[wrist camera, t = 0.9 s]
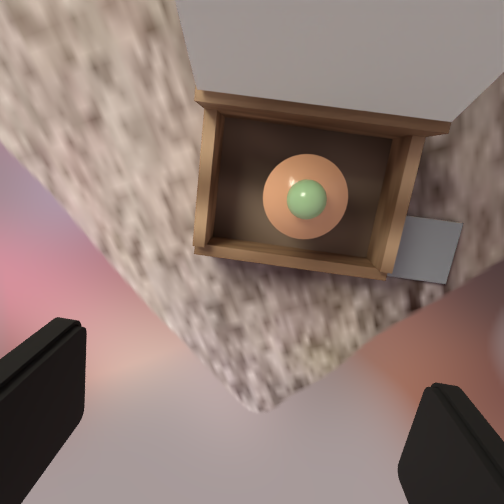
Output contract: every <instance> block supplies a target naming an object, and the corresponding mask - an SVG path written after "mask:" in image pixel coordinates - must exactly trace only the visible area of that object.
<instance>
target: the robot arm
mask: <svg viewBox="0 0 504 504" xmlns="http://www.w3.org/2000/svg"><path fill="white" fill-rule="evenodd" d="M86 335H87V334H86V328H84V327H81V323H80V322H79V321H77V320H72V319H65V318H60V317H57V318H55V319H53V320H52V321H51V322H49V323H48V324H47V325H45V326H44V327H42V328H41V329H40V330H39V331H37V332H36V333H34V334H33V335H32V336H30V337H29V338H28V339H26V340H25V341H24V342H23V343H21V344H20V345H19V346H17V347H16V348H15V349H13V350H12V351H11V352H9V353H8V354H7V355H5V356H4V357H3V358H1V359H0V504H21V503H22V502H23V500H24V499H25V497H26V496H27V495H28V493H29V492H30V490H31V489H32V488H33V486H34V485H35V483H36V482H37V481H38V479H39V478H40V477H41V475H42V474H43V472H44V471H45V470H46V468H47V467H48V465H49V464H50V463H51V461H52V460H53V459H54V457H55V456H56V454H57V453H58V451H59V450H60V449H61V447H62V446H63V445H64V443H65V442H66V440H67V439H68V438H69V436H70V435H71V433H72V432H73V431H74V429H75V428H76V427H77V425H78V424H79V422H80V420H81V418H82V416H83V412H84V401H85V398H84V397H85V367H86V366H85V365H86ZM398 476H399V480H400V483H401V485H402V488H403V491H404V493H405V496H406V498H407V501H408V503H409V504H504V442H503V440H502V439H501V438H500V436H499V435H498V434H497V433H496V432H495V430H494V429H493V428H492V427H491V425H490V424H489V423H488V422H487V420H486V419H485V418H484V417H483V415H482V414H481V413H480V412H479V410H478V409H477V408H476V407H475V405H474V404H473V403H472V402H471V401H470V399H469V398H468V397H467V396H466V394H465V393H464V392H463V391H462V389H460V388H459V387H458V386H453V385H447V384H442V383H434V384H432V385H431V387H427V388H426V389H425V390H424V392H423V395H422V398H421V401H420V404H419V407H418V409H417V412H416V415H415V418H414V421H413V424H412V427H411V429H410V432H409V435H408V438H407V441H406V443H405V446H404V449H403V452H402V455H401V458H400V461H399V464H398Z"/></svg>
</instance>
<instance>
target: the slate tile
mask: <svg viewBox="0 0 504 504" xmlns="http://www.w3.org/2000/svg"><path fill="white" fill-rule="evenodd" d="M462 226H463V223H460V222H453V221H446V220H439V219H431V218H424V217H417V216H409V215H406V219H405V223H404V227H403V231H402V235H401V240H400V244H399V248H398V252H397V256H396V260H395V264H394V268H393V272H392V274H391V273H387V276H391V277H399V278H406V279H413V280H420V281H427V282H434V283H442V284H446V281H447V278H448V274H449V271H450V267H451V264H452V261H453V257H454V254H455V250H456V247H457V243H458V240H459V237H460V233H461V230H462Z"/></svg>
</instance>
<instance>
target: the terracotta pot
mask: <svg viewBox="0 0 504 504" xmlns="http://www.w3.org/2000/svg"><path fill="white" fill-rule="evenodd" d="M347 203H348V188H347V184H346V181H345V178H344V176H343V174H342V173H341V171H340V170H339V169H338V167H337V166H336V165H335V164H333V163H332V162H331V161H329V160H328V159H326V158H324V157H321V156H318V155H313V154H301V155H296V156H293V157H290V158H288V159H286V160H284V161H282V162H281V163H279V164H278V165H277V166H276V167H275V168H274V169H273V171H272V172H271V173H270V175H269V177H268V179H267V181H266V183H265V186H264V191H263V205H264V210H265V213H266V215H267V217H268V219H269V221H270V222H271V223H272V225H273V226H274V227H275V228H276V229H277V230H279V231H280V232H281V233H283V234H285V235H287V236H289V237H292V238H296V239H312V238H316V237H319V236H322V235H324V234H326V233H327V232H329V231H330V230H332V229H333V228H334V227H335V226H336V225H337V224H338V223H339V221H340V220H341V218H342V217H343V215H344V213H345V210H346V207H347Z"/></svg>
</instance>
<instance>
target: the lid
mask: <svg viewBox="0 0 504 504" xmlns="http://www.w3.org/2000/svg"><path fill="white" fill-rule="evenodd" d="M175 2H176V6H177V10H178V14H179V18H180V22H181V26H182V30H183V34H184V38H185V42H186V47H187V51H188V55H189V59H190V63H191V67H192V71H193V75H194V79H195V83H196V87H197V89H198V90H205V91H213V92H221V93H229V94H237V95H244V96H252V97H260V98H268V99H276V100H283V101H291V102H299V103H307V104H314V105H322V106H330V107H338V108H346V109H353V110H361V111H369V112H377V113H385V114H392V115H400V116H408V117H416V118H424V119H431V120H439V121H447V122H452V121H453V120H454V119H455V118H456V117H457V116H458V115H459V114H460V113H461V112H462V111H464V110H465V109H466V108H467V107H468V106H469V105H470V104H471V103H472V102H473V101H474V100H475V99H476V98H477V97H478V96H479V95H480V94H481V93H482V92H483V91H484V90H485V89H486V88H488V87H489V86H490V85H491V84H492V83H493V82H494V81H495V80H496V79H497V78H498V77H499V76H500V75H501V74H502V73H503V72H504V0H175Z"/></svg>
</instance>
